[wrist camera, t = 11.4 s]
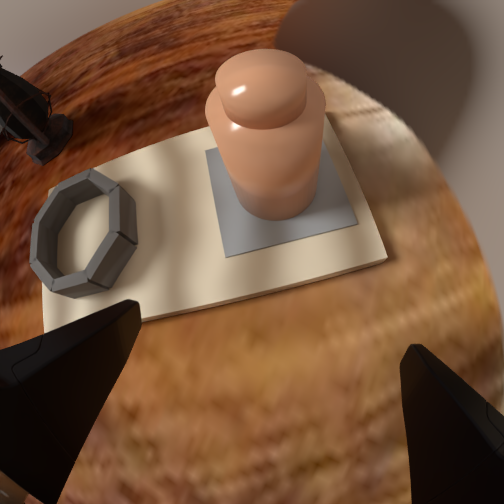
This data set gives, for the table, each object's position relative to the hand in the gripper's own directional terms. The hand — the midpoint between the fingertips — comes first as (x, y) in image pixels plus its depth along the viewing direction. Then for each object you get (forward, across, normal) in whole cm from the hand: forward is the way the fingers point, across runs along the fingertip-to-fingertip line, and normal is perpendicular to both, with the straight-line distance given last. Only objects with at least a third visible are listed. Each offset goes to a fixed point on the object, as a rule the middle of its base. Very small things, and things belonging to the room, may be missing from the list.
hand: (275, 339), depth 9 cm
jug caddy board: (+16, +9, +2) cm, 18 cm away
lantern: (+24, +32, -4) cm, 41 cm away
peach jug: (+17, +1, -3) cm, 17 cm away
